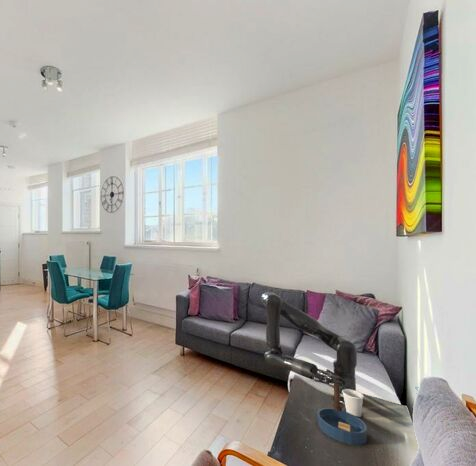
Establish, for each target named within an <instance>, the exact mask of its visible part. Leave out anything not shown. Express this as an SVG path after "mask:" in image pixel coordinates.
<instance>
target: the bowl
mask: <svg viewBox="0 0 476 466" xmlns="http://www.w3.org/2000/svg"><path fill="white" fill-rule="evenodd" d="M339 422H342V423H345V424H348V425H350V431H351V432H349V431H345V430H341V429H339V428H338V426H339ZM317 425H318V428H319V429H320V430H321V432H323V433H324V434H325V435H327V437H329V438H332V439H333V440H336V441H338V442H340V443H343V444H348V445H350V446H351V445H352V446H353V445H354V446H360V445H365V444H366V443H367V442H368V425H366V423H365V422H364V420H362V419H361V418H360V417H359V416H355V415H353V414H350V413H348V412H346V410H342V411H337V410H334V409H333V407H324V408H320V409H318V411H317Z"/></svg>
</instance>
